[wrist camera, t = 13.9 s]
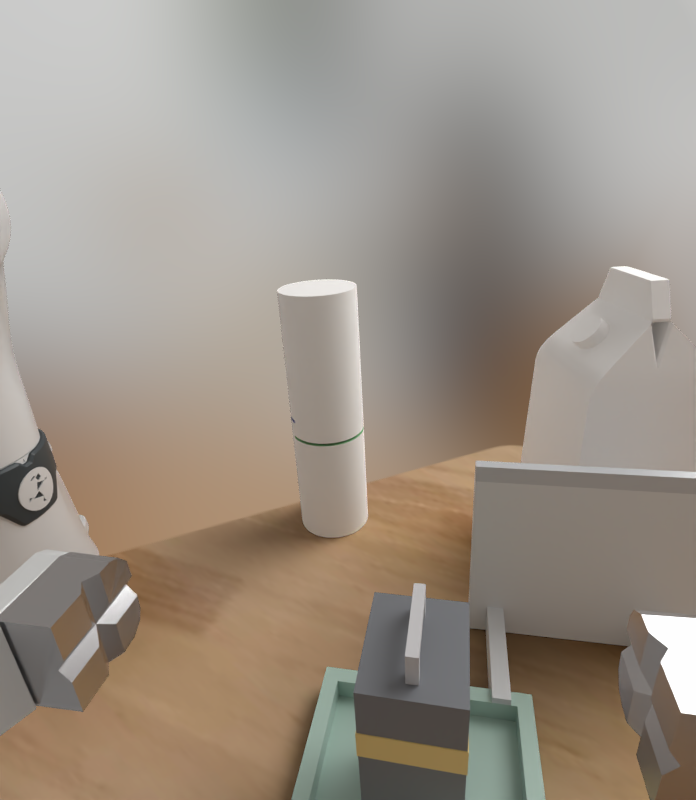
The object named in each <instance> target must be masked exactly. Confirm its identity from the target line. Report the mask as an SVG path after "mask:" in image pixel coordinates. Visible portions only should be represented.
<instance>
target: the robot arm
mask: <svg viewBox="0 0 696 800" xmlns="http://www.w3.org/2000/svg"><path fill="white" fill-rule="evenodd" d="M10 236H11V224H10V216H9V211H8V207H7V205H6V201H5V199H4V197H3V194H2V192H1V190H0V736H1V735H2V734H3V733H5V732H6V731H7V730H9V729H10V728H11V727H13V726H14V725H15V724H17V723H18V722H19V721H21V720H22V719H23V718H25V717H26V716H27V715H29V714H30V713H31V712H33V711H34V710H35V709H36V706H44V707H51V708H59V709H66V710H74V711H81V712H83V711H84V710H85V709H86V707H87V706H88V704H89V703H90V701H91V700H92V698H93V697H94V696H95V694H96V693H97V691H98V690H99V688H100V687H101V686H102V684H103V683H104V681H105V680H106V678H107V677H108V675H109V662H110V661H111V660H113V659H115V658H116V657H118V656H119V655H121V654H122V653H124V652H125V651H126V649H127V648H128V646H129V645H130V643H131V642H132V640H133V639H134V637H135V634H136V631H137V628H138V625H139V622H140V604H139V600H138V596H137V595H136V594H135V593H134V592H133V591H132V590H131V589H130V588H129V587H128V586H127V583H128V582H129V580H130V578H131V576H132V575H131V573H130V570H129V567H128V564H127V561H125V560H122V559H120V558H114V557H107V556H99V552H98V549H97V547H96V545H95V544H94V542H93V541H92V539H91V538H90V536H89V535H88V530H89V525H88V523H87V521H86V518H85V517H84V516H83V515H78V513H77V510H76V508H75V506H74V504H73V502H72V500H71V498H70V495H69V494H68V491H67V489H66V487H65V485H64V483H63V481H62V479H61V477H60V475H59V473H58V471H57V470H56V463H55V460H54V457H53V454H52V448H51V445H50V444H49V442H48V441H47V438H46V436H45V434H44V432H43V431H42V430H40V429H38V428H37V425H36V422H35V419H34V416H33V413H32V410H31V406H30V403H29V400H28V397H27V394H26V391H25V388H24V385H23V382H22V379H21V376H20V373H19V370H18V367H17V363H16V360H15V356H14V351H13V346H12V340H11V333H10V324H9V314H8V303H7V293H6V283H5V275H4V266H3V264H4V263H3V261H4V257H5V255H6V252H7V250H8V246H9V242H10ZM626 630H627V633H628V636H629V638H630V641H631V644H632V645H630V646H629V647H627V648H626V649H625V650H623V651H622V652H621V657H620V663H619V692H620V697H621V703H622V707H623V711H624V714H625V718H626V721H627V723H628V724H629V725H630V726H631V727H632V729H633V730H634V731H635V732H636V733H637V734H638V735H639V736H640V737H641V738H640V743H639V747H638V751H637V759H638V762H639V765H640V769H641V772H642V775H643V778H644V782H645V785H646V788H647V792H648V795H649V798H650V800H696V615H690V614H679V613H668V612H657V611H646V610H635V609H634V610H633V611H632V613H631V614H630V616H629V620H628V624H627V628H626Z"/></svg>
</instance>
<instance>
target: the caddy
mask: <svg viewBox="0 0 696 800" xmlns="http://www.w3.org/2000/svg"><path fill="white" fill-rule="evenodd" d="M353 695H354V708H355V721H356V732H355V739H356V752H357V756H358V761H359V775H360V788H361V800H465V790H466V775H467V776H468V760H469V721H470V626H469V603H468V602H459V601H450V600H440V599H431V598H426V584H419V583H414V587H413V595H412V596H404V595H395V594H386V593H377V592H375V593H374V598H373V603H372V607H371V612H370V617H369V621H368V626H367V631H366V636H365V640H364V645H363V650H362V654H361V659H360V664H359V668H358V673H357V678H356V683H355V687H354V692H353Z"/></svg>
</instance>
